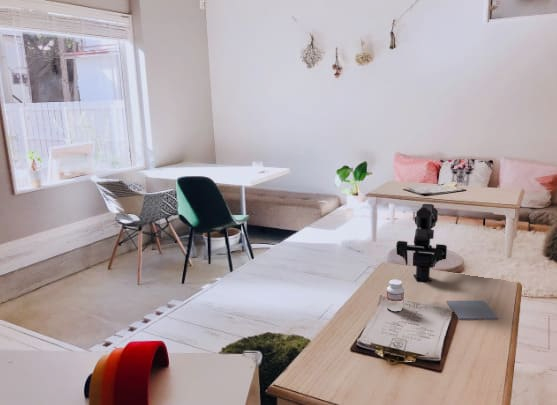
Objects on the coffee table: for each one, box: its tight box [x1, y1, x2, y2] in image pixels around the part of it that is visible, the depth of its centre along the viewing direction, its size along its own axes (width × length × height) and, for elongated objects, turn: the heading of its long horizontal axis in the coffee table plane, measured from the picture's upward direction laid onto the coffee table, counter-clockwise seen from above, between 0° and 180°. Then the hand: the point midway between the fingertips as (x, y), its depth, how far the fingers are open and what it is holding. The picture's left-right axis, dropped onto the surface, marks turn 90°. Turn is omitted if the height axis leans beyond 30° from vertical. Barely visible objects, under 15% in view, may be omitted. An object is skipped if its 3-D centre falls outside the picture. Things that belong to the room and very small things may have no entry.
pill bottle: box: [386, 279, 405, 301], centre depth 178 cm, size 6×6×11 cm
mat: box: [446, 299, 499, 321], centre depth 177 cm, size 14×14×1 cm
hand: (419, 265), depth 180 cm, fingers open, 9 cm apart
